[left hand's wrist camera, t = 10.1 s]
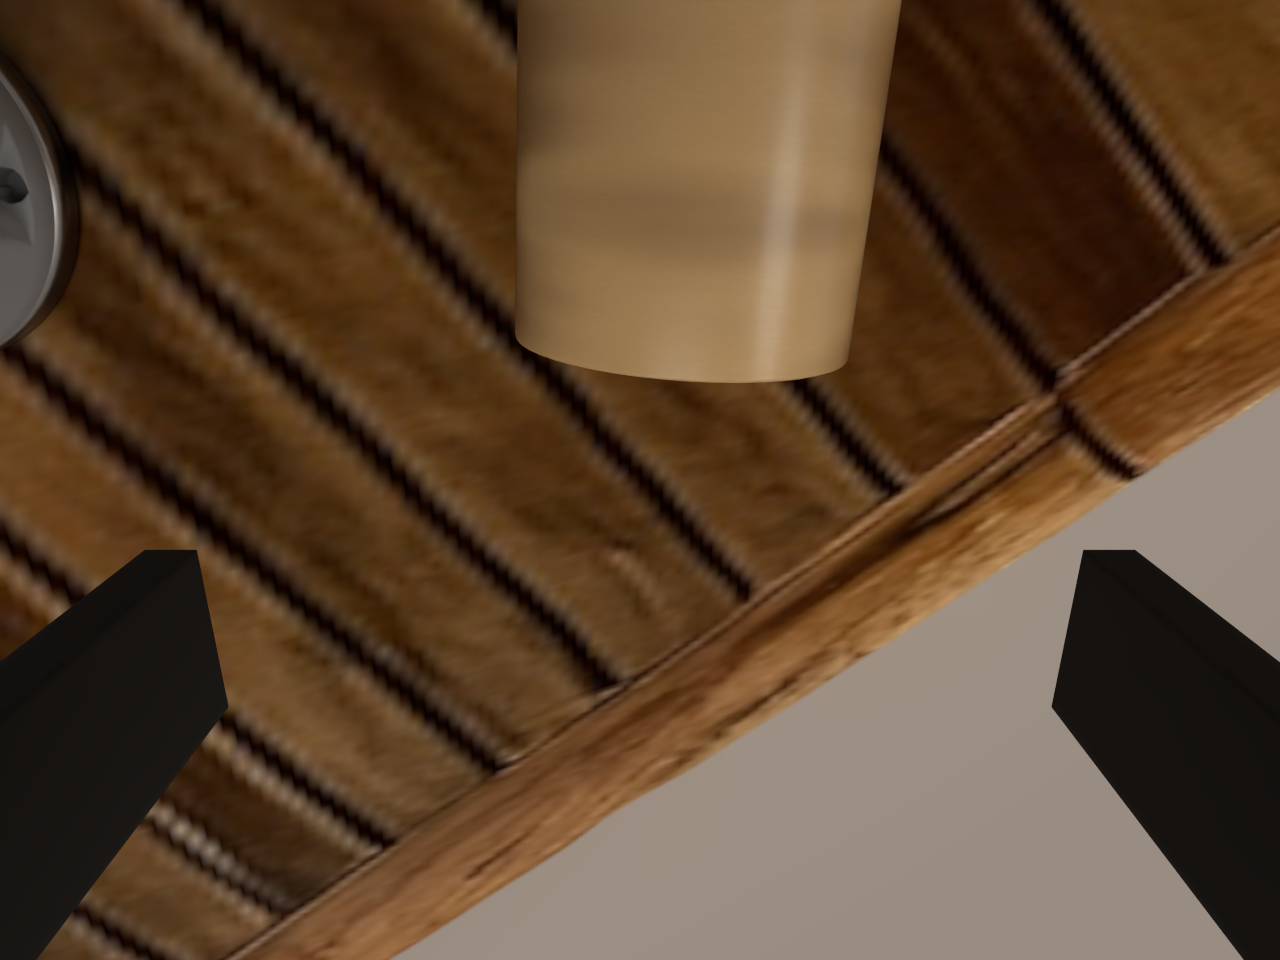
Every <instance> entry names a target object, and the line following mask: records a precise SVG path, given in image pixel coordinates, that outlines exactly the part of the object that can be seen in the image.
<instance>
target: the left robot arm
mask: <svg viewBox="0 0 1280 960" xmlns="http://www.w3.org/2000/svg"><path fill="white" fill-rule="evenodd" d="M78 224H79V220H78V205H77V198H76V192H75V185H74V181H73V177H72V173H71V169H70V166H69V163H68V160H67V157H66V154H65V151H64V148H63V146H62V143H61V141H60V139H59V137H58V134H57V132H56V130H55V128H54V126H53V124H52V122H51V120H50V118H49V116H48V114H47V113H46V111H45V109H44V107H43V106H42V104H41V103H40V101H39V100H38V98H37V97H36V95H35V93H34V92H33V90H32V89H31V88H30V86H29V85H28V84H27V82H26V81H25V80H24V78H23V77H22V76H21V74H20V73H19V72H18V71H17V70H16V69H15V68H14V66H13V65H12V64H11V63H10V62H9V61H8V60H7V58H6V57H5V56H4V55H3V54H2V53H1V52H0V350H2V349H4V348H6V347H8V346H10V345H12V344H14V343H16V342H18V341H19V340H21V339H22V338H24V337H25V336H27V335H28V334H30V333H31V332H32V331H33V330H34V329H35V328H37V327H38V326H39V325H40V324H41V323H42V322H43V321H44V320H45V318H46V317H47V316H48V315H49V314H50V313H51V311H52V310H53V308H54V307H55V306H56V304H57V303H58V301H59V299H60V298H61V296H62V294H63V292H64V290H65V288H66V286H67V283H68V280H69V278H70V275H71V272H72V269H73V265H74V261H75V257H76V250H77V243H78ZM227 708H228V702H227V697H226V693H225V688H224V683H223V678H222V673H221V668H220V663H219V658H218V653H217V648H216V643H215V638H214V633H213V628H212V623H211V618H210V613H209V609H208V604H207V599H206V594H205V589H204V584H203V579H202V574H201V569H200V564H199V559H198V554H197V550H144V551H143V552H142V553H140V554H139V555H138V556H137V557H135V558H134V559H133V560H131V561H130V562H129V563H127V564H126V565H125V566H124V567H122V568H121V569H120V570H118V571H117V572H116V573H115V574H113V575H112V576H111V577H109V578H108V579H107V580H106V581H104V582H103V583H102V584H100V585H99V586H98V587H97V588H95V589H94V590H93V591H91V592H90V593H89V594H88V595H86V596H85V597H84V598H82V599H81V600H80V601H79V602H77V603H76V604H75V605H73V606H72V607H71V608H70V609H68V610H67V611H66V612H64V613H63V614H62V615H61V616H59V617H58V618H57V619H55V620H54V621H53V622H51V623H50V624H49V625H48V626H46V627H45V628H44V629H42V630H41V631H40V632H39V633H37V634H36V635H35V636H33V637H32V638H31V639H30V640H28V641H27V642H26V643H24V644H23V645H22V646H21V647H19V648H18V649H17V650H15V651H14V652H13V653H12V654H10V655H9V656H8V657H6V658H5V659H4V660H3V661H1V662H0V960H36V959H37V958H38V957H39V955H40V954H41V953H42V951H43V950H44V949H45V948H46V946H47V945H48V944H49V942H50V941H51V940H52V938H53V937H54V936H55V934H56V933H57V932H58V930H59V929H60V928H61V927H62V925H63V924H64V923H65V921H66V920H67V919H68V917H69V916H70V915H71V913H72V912H73V911H74V909H75V908H76V907H77V905H78V904H79V903H80V902H81V900H82V899H83V898H84V896H85V895H86V894H87V892H88V891H89V890H90V888H91V887H92V886H93V884H94V883H95V882H96V880H97V879H98V878H99V877H100V875H101V874H102V873H103V871H104V870H105V869H106V867H107V866H108V865H109V863H110V862H111V861H112V859H113V858H114V857H115V855H116V854H117V853H118V852H119V850H120V849H121V848H122V846H123V845H124V844H125V842H126V841H127V840H128V838H129V837H130V836H131V834H132V833H133V832H134V830H135V829H136V828H137V827H138V825H139V824H140V823H141V821H142V820H143V819H144V817H145V816H146V815H147V813H148V812H149V811H150V809H151V808H152V807H153V806H154V804H155V803H156V802H157V800H158V799H159V798H160V796H161V795H162V794H163V792H164V791H165V790H166V788H167V787H168V786H169V784H170V783H171V782H172V781H173V779H174V778H175V777H176V775H177V774H178V773H179V771H180V770H181V769H182V767H183V766H184V765H185V763H186V762H187V761H188V759H189V758H190V757H191V756H192V754H193V753H194V752H195V750H196V749H197V748H198V746H199V745H200V744H201V742H202V741H203V740H204V738H205V737H206V736H207V734H208V733H209V732H210V731H211V729H212V728H213V727H214V725H215V724H216V723H217V721H218V720H219V719H220V717H221V716H222V715H223V713H224V712H225V711H226V709H227ZM1052 708H1053V710H1054V711H1055V712H1056V713H1057V715H1058V716H1059V717H1060V719H1061V720H1062V721H1063V723H1064V724H1065V725H1066V727H1067V728H1068V729H1069V731H1070V732H1071V733H1072V734H1073V736H1074V737H1075V738H1076V740H1077V741H1078V742H1079V744H1080V745H1081V746H1082V748H1083V749H1084V750H1085V752H1086V753H1087V754H1088V756H1089V757H1090V758H1091V759H1092V761H1093V762H1094V763H1095V765H1096V766H1097V767H1098V769H1099V770H1100V771H1101V773H1102V774H1103V775H1104V777H1105V778H1106V779H1107V780H1108V782H1109V783H1110V784H1111V786H1112V787H1113V788H1114V790H1115V791H1116V792H1117V794H1118V795H1119V796H1120V798H1121V799H1122V800H1123V801H1124V803H1125V804H1126V806H1127V807H1128V808H1129V809H1130V811H1131V812H1132V813H1133V815H1134V816H1135V817H1136V819H1137V820H1138V821H1139V823H1140V824H1141V825H1142V827H1143V828H1144V829H1145V830H1146V832H1147V833H1148V834H1149V836H1150V837H1151V838H1152V840H1153V841H1154V842H1155V844H1156V845H1157V846H1158V848H1159V849H1160V850H1161V852H1162V853H1163V854H1164V855H1165V857H1166V858H1167V859H1168V861H1169V862H1170V863H1171V865H1172V866H1173V867H1174V869H1175V870H1176V871H1177V873H1178V874H1179V875H1180V877H1181V878H1182V879H1183V880H1184V882H1185V883H1186V884H1187V886H1188V887H1189V888H1190V890H1191V891H1192V892H1193V894H1194V895H1195V896H1196V898H1197V899H1198V900H1199V901H1200V903H1201V904H1202V905H1203V907H1204V908H1205V909H1206V911H1207V912H1208V913H1209V915H1210V916H1211V917H1212V919H1213V920H1214V921H1215V923H1216V924H1217V925H1218V927H1219V928H1220V929H1221V930H1222V932H1223V933H1224V934H1225V936H1226V937H1227V938H1228V940H1229V941H1230V942H1231V944H1232V945H1233V946H1234V948H1235V949H1236V950H1237V952H1238V953H1239V954H1240V955H1241V957H1242V958H1243V959H1244V960H1280V662H1279V661H1277V660H1276V659H1275V658H1274V657H1272V656H1271V655H1270V654H1268V653H1267V652H1266V651H1265V650H1263V649H1262V648H1261V647H1259V646H1258V645H1257V644H1256V643H1254V642H1253V641H1252V640H1250V639H1249V638H1248V637H1247V636H1245V635H1244V634H1243V633H1241V632H1240V631H1239V630H1237V629H1236V628H1235V627H1234V626H1232V625H1231V624H1230V623H1229V622H1227V621H1226V620H1225V619H1223V618H1222V617H1221V616H1219V615H1218V614H1217V613H1216V612H1214V611H1213V610H1212V609H1210V608H1209V607H1208V606H1207V605H1205V604H1204V603H1203V602H1201V601H1200V600H1199V599H1198V598H1196V597H1195V596H1194V595H1192V594H1191V593H1190V592H1189V591H1187V590H1186V589H1185V588H1183V587H1182V586H1181V585H1180V584H1178V583H1177V582H1176V581H1174V580H1173V579H1172V578H1171V577H1169V576H1168V575H1167V574H1165V573H1164V572H1163V571H1162V570H1160V569H1159V568H1157V567H1156V566H1155V565H1154V564H1153V563H1151V562H1150V561H1149V560H1147V559H1146V558H1145V557H1143V556H1142V555H1141V554H1140V553H1138V552H1137V551H1136V550H1083V554H1082V559H1081V564H1080V569H1079V574H1078V579H1077V584H1076V589H1075V594H1074V599H1073V604H1072V608H1071V613H1070V618H1069V623H1068V628H1067V633H1066V638H1065V643H1064V648H1063V653H1062V658H1061V663H1060V668H1059V673H1058V678H1057V683H1056V688H1055V693H1054V698H1053V702H1052Z"/></svg>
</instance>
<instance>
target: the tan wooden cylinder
mask: <svg viewBox="0 0 1280 960" xmlns="http://www.w3.org/2000/svg"><path fill="white" fill-rule="evenodd" d="M901 1H902V0H518V58H517V178H516V297H515V335H516V338H517V340H518V342H519V343H520V344H521V345H522V346H524V347H526V348H527V349H529V350H531V351H533V352H535V353H537V354H539V355H542V356H545V357H547V358H550V359H553V360H556V361H560V362H563V363H567V364H571V365H575V366H579V367H584V368H588V369H593V370H598V371H604V372H609V373H615V374H622V375H629V376H636V377H645V378H654V379H664V380H677V381H691V382H713V383H752V382H774V381H786V380H795V379H802V378H808V377H814V376H818V375H822V374H826V373H830V372H832V371H834V370H837V369H839V368H840V367H842V366H843V365H844V364H845V363H846V361H847V359H848V355H849V349H850V342H851V335H852V329H853V322H854V315H855V309H856V302H857V295H858V288H859V282H860V275H861V268H862V262H863V255H864V248H865V242H866V235H867V228H868V222H869V215H870V208H871V202H872V195H873V188H874V181H875V175H876V168H877V161H878V155H879V148H880V141H881V135H882V128H883V121H884V115H885V108H886V101H887V95H888V88H889V81H890V74H891V68H892V61H893V54H894V48H895V41H896V34H897V28H898V21H899V14H900V8H901Z"/></svg>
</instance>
